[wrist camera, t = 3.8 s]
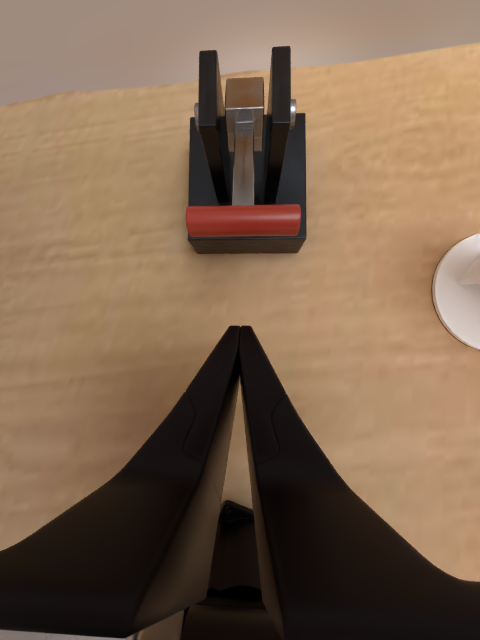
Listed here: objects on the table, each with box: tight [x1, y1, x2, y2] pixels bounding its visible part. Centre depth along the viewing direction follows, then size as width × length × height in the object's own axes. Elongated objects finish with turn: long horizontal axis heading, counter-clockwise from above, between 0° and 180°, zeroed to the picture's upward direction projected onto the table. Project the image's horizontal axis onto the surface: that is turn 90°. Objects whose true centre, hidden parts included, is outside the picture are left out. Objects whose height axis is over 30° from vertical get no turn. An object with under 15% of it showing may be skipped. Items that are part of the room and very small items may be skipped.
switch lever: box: [186, 77, 301, 237], centre depth 13 cm, size 10×6×2 cm, turn 0°
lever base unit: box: [188, 46, 306, 254], centre depth 18 cm, size 11×10×11 cm
